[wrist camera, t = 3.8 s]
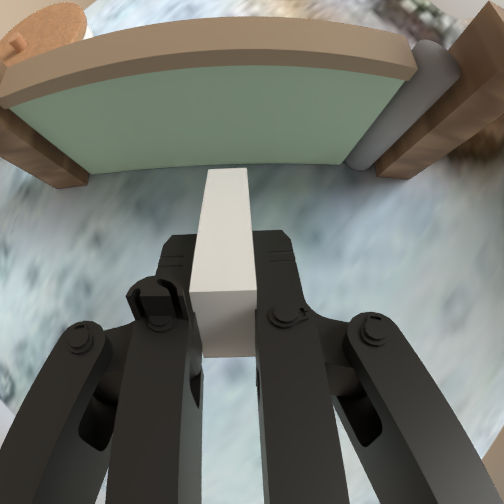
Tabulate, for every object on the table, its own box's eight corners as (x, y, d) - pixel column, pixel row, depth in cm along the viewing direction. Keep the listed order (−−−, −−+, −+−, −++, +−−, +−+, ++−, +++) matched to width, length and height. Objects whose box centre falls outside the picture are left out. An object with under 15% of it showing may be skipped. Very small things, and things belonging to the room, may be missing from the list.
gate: (369, 142, 22) (450, 47, 10) (374, 171, 22) (467, 86, 10) (95, 150, 21) (8, 64, 9) (91, 179, 21) (-8, 104, 9)
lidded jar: (18, 165, 21) (-48, 125, 12) (24, 81, 22) (-21, 34, 13) (119, 117, 22) (70, 46, 13) (111, 37, 23) (80, -28, 14)
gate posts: (403, 144, 22) (529, 25, 6) (409, 179, 22) (557, 74, 6) (62, 154, 22) (-66, 50, 6) (56, 189, 21) (-91, 100, 5)
